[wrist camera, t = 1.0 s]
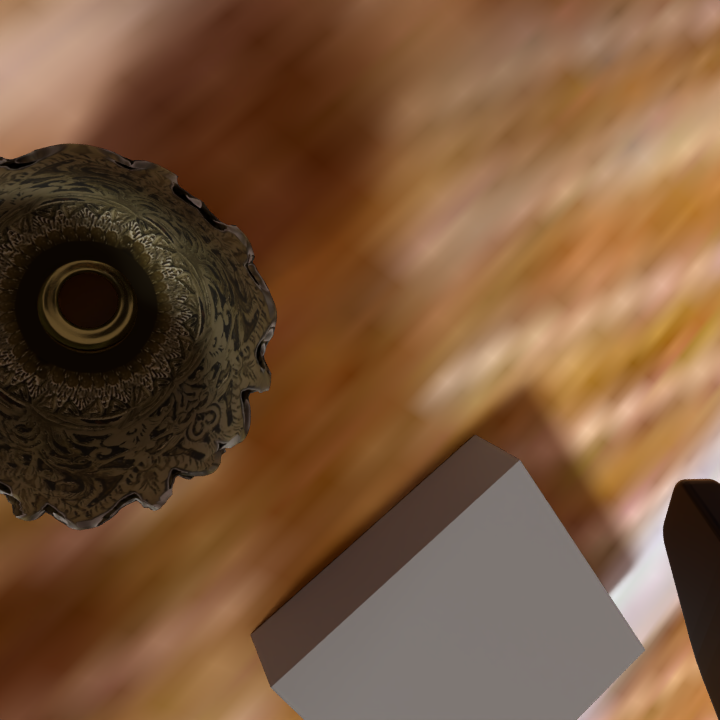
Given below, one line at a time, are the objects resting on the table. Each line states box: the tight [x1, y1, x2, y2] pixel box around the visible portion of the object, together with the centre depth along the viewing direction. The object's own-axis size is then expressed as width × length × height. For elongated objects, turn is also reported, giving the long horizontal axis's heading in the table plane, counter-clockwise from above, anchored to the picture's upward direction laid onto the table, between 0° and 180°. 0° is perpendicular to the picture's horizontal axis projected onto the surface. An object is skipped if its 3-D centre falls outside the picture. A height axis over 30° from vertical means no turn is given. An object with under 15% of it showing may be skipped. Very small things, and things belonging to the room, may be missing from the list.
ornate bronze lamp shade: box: [0, 144, 277, 530], centre depth 17 cm, size 8×7×8 cm
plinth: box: [251, 435, 645, 720], centre depth 26 cm, size 11×11×3 cm
